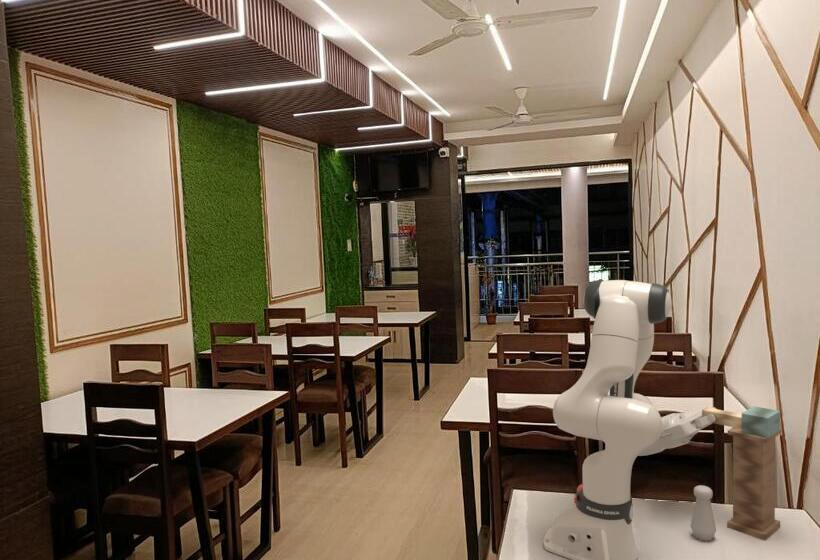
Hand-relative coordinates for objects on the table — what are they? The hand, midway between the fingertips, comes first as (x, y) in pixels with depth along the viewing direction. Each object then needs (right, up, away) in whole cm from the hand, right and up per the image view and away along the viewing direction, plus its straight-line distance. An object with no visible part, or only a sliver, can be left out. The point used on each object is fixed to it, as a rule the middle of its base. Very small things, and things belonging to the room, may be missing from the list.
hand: (718, 415), depth 156 cm
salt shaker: (-8, -29, -8) cm, 32 cm away
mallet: (+3, -2, -4) cm, 5 cm away
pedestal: (+7, -28, -5) cm, 29 cm away
